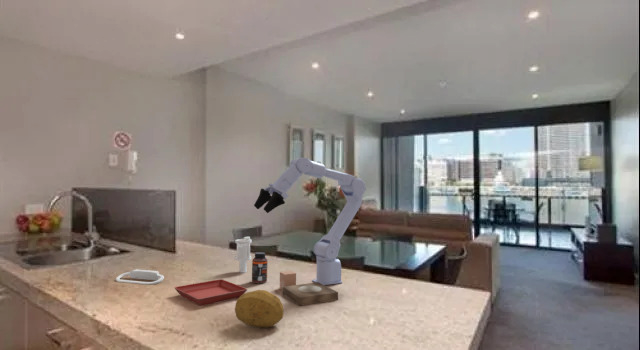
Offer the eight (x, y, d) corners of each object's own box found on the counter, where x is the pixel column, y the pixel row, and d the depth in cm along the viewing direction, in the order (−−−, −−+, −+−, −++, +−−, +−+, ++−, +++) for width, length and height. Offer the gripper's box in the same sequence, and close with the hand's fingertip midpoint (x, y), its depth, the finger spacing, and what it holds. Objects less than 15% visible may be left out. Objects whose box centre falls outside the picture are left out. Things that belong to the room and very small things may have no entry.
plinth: (318, 289, 135) (318, 281, 135) (337, 299, 123) (337, 291, 123) (282, 293, 128) (282, 286, 128) (299, 305, 116) (300, 296, 116)
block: (290, 286, 138) (291, 270, 138) (295, 289, 134) (296, 273, 134) (279, 288, 135) (279, 271, 136) (284, 291, 131) (284, 274, 132)
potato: (275, 298, 93) (286, 285, 102) (227, 297, 96) (242, 284, 105) (277, 335, 93) (289, 318, 102) (229, 332, 96) (244, 316, 105)
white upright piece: (254, 271, 161) (255, 237, 162) (243, 274, 155) (243, 239, 156) (242, 269, 165) (243, 235, 166) (231, 272, 159) (231, 237, 160)
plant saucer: (221, 287, 137) (221, 278, 137) (248, 298, 124) (248, 288, 124) (173, 296, 124) (173, 287, 125) (197, 310, 112) (198, 299, 112)
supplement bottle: (264, 284, 140) (264, 254, 141) (249, 283, 142) (249, 253, 142) (269, 280, 146) (269, 251, 147) (255, 279, 147) (255, 251, 148)
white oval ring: (111, 285, 143) (110, 276, 142) (127, 275, 150) (126, 267, 150) (155, 290, 137) (153, 280, 137) (169, 279, 145) (168, 270, 144)
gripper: (269, 172, 141) (245, 198, 136) (288, 176, 129) (263, 205, 124) (280, 185, 144) (256, 211, 139) (300, 190, 132) (275, 218, 128)
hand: (260, 209), depth 132 cm, fingers open, 7 cm apart
